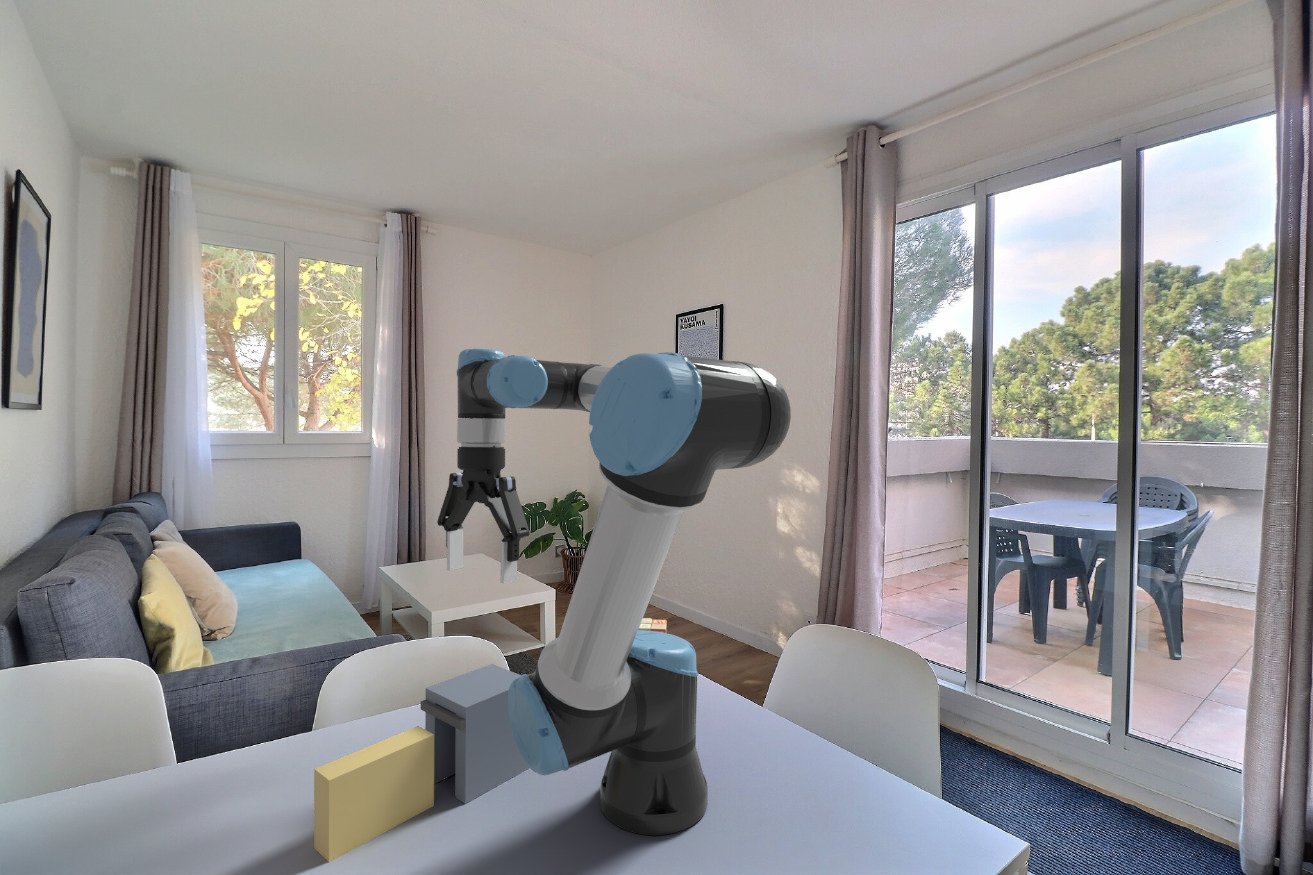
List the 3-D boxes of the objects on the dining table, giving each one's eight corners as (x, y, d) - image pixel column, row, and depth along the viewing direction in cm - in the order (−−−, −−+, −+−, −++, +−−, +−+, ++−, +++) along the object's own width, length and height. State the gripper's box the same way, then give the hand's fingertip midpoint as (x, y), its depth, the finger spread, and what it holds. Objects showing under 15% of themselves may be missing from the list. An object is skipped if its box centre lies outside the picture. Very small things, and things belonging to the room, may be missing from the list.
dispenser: (532, 766, 94) (532, 679, 94) (460, 806, 84) (460, 709, 84) (491, 745, 101) (492, 663, 100) (420, 780, 90) (420, 689, 90)
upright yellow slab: (433, 806, 85) (434, 734, 84) (329, 862, 73) (329, 780, 73) (417, 795, 87) (418, 725, 87) (314, 848, 76) (314, 768, 76)
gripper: (552, 446, 95) (551, 582, 96) (453, 443, 110) (453, 560, 110) (515, 447, 89) (514, 592, 90) (416, 443, 104) (415, 568, 104)
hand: (480, 575), depth 100 cm, fingers open, 13 cm apart
